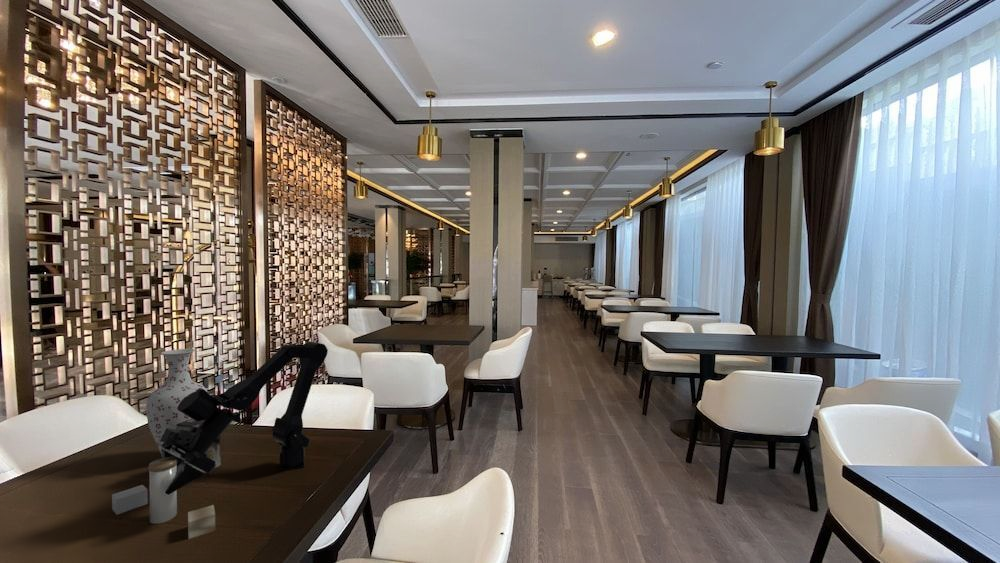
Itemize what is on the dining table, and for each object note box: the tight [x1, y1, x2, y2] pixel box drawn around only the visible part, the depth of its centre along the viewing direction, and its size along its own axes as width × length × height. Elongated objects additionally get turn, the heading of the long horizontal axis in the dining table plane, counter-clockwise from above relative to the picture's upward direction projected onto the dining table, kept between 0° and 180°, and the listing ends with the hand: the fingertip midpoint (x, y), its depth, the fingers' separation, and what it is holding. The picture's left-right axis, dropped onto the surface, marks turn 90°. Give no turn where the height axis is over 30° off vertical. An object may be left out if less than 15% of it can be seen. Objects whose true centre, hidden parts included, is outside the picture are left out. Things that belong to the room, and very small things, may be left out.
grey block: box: [111, 484, 148, 515], centre depth 105 cm, size 6×4×4 cm, turn 146°
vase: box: [145, 348, 209, 456], centre depth 134 cm, size 16×16×35 cm
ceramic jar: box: [148, 457, 178, 525], centre depth 100 cm, size 5×5×14 cm
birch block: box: [187, 504, 216, 540], centre depth 96 cm, size 5×5×4 cm
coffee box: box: [176, 419, 222, 474], centre depth 124 cm, size 9×6×16 cm
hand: (159, 488), depth 100 cm, fingers open, 9 cm apart
